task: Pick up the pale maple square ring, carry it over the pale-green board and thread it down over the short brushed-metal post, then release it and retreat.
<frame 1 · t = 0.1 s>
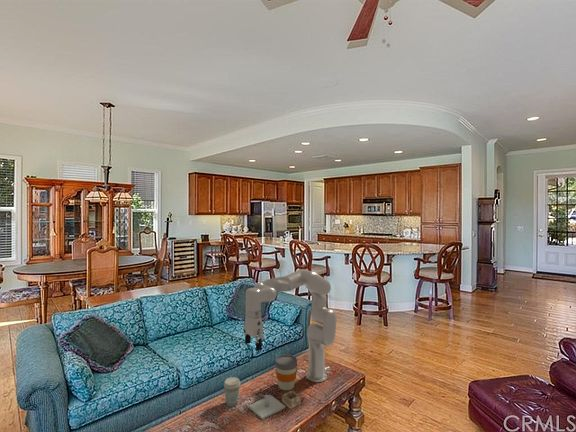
hand: (253, 346, 163), 31 cm above the table, fingers open, 9 cm apart
reusable coffee cup: (286, 386, 183), on the table
ring: (291, 403, 167), on the table
coffee cup: (232, 404, 166), on the table
post block: (266, 407, 163), on the table
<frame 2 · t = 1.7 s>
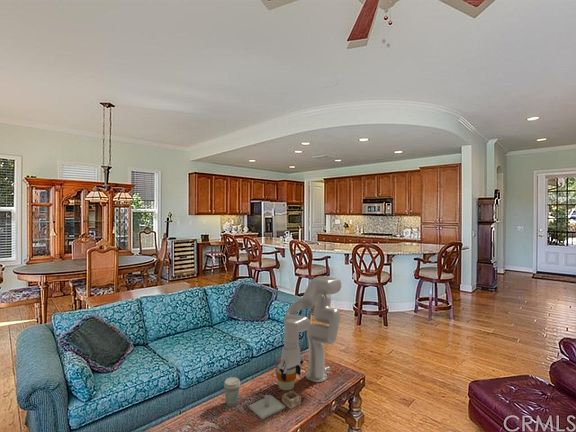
hand: (291, 377, 166), 14 cm above the table, fingers open, 9 cm apart
nothing on the table moved.
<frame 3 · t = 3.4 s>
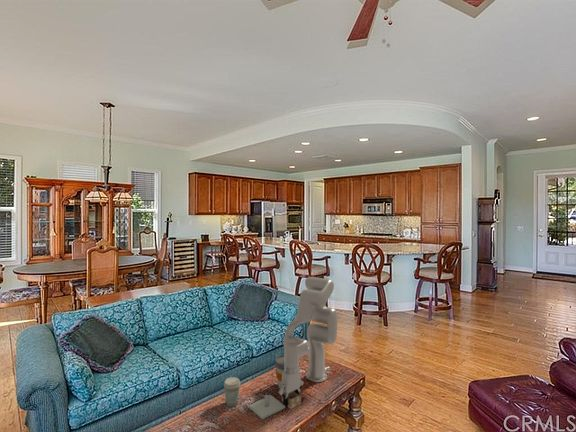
hand: (291, 401, 167), 1 cm above the table, fingers closed on ring, 7 cm apart
ring: (291, 403, 167), on the table, touching gripper
everything else where it was.
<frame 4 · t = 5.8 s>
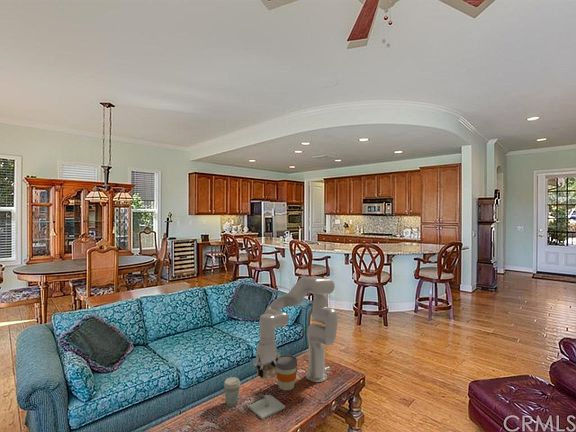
hand: (266, 373, 162), 18 cm above the table, fingers closed on ring, 7 cm apart
ring: (266, 375, 162), point 17 cm above the table, touching gripper
everything else where it was.
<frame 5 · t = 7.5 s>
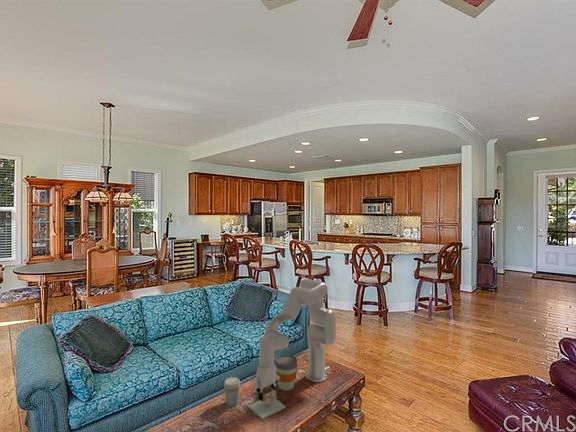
hand: (266, 396, 163), 6 cm above the table, fingers closed on ring, 7 cm apart
ring: (266, 398, 163), point 5 cm above the table, touching gripper
everything else where it was.
when the fingers open (4 cm above the table, at t = 8.7 s): ring drops 2 cm, resting on post block.
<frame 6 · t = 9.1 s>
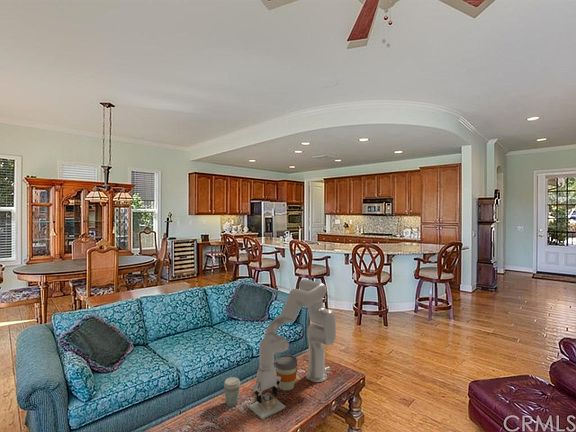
hand: (266, 398, 163), 5 cm above the table, fingers open, 9 cm apart
ring: (267, 405, 163), point 1 cm above the table, touching post block
everything else where it was.
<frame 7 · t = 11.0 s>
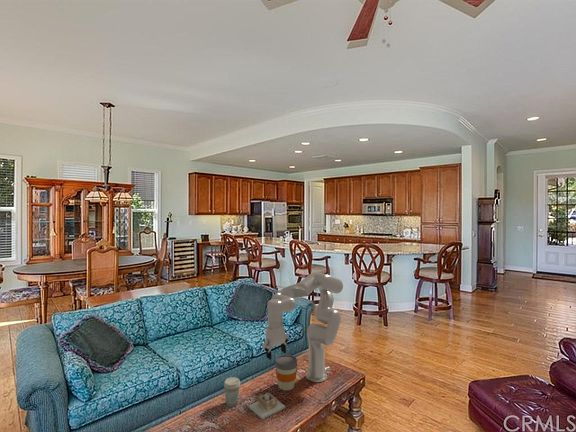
hand: (276, 355, 169), 24 cm above the table, fingers open, 9 cm apart
nothing on the table moved.
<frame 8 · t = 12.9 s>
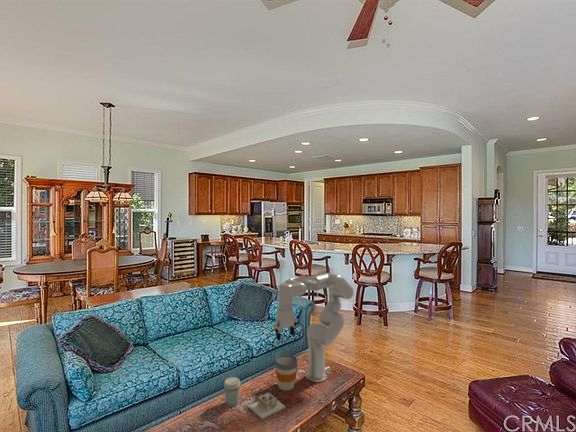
hand: (285, 337, 176), 30 cm above the table, fingers open, 9 cm apart
nothing on the table moved.
at the end: ring 0.1 cm off-centre on the post block, point 1.0 cm above the post block's base; the gripper is holding nothing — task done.
